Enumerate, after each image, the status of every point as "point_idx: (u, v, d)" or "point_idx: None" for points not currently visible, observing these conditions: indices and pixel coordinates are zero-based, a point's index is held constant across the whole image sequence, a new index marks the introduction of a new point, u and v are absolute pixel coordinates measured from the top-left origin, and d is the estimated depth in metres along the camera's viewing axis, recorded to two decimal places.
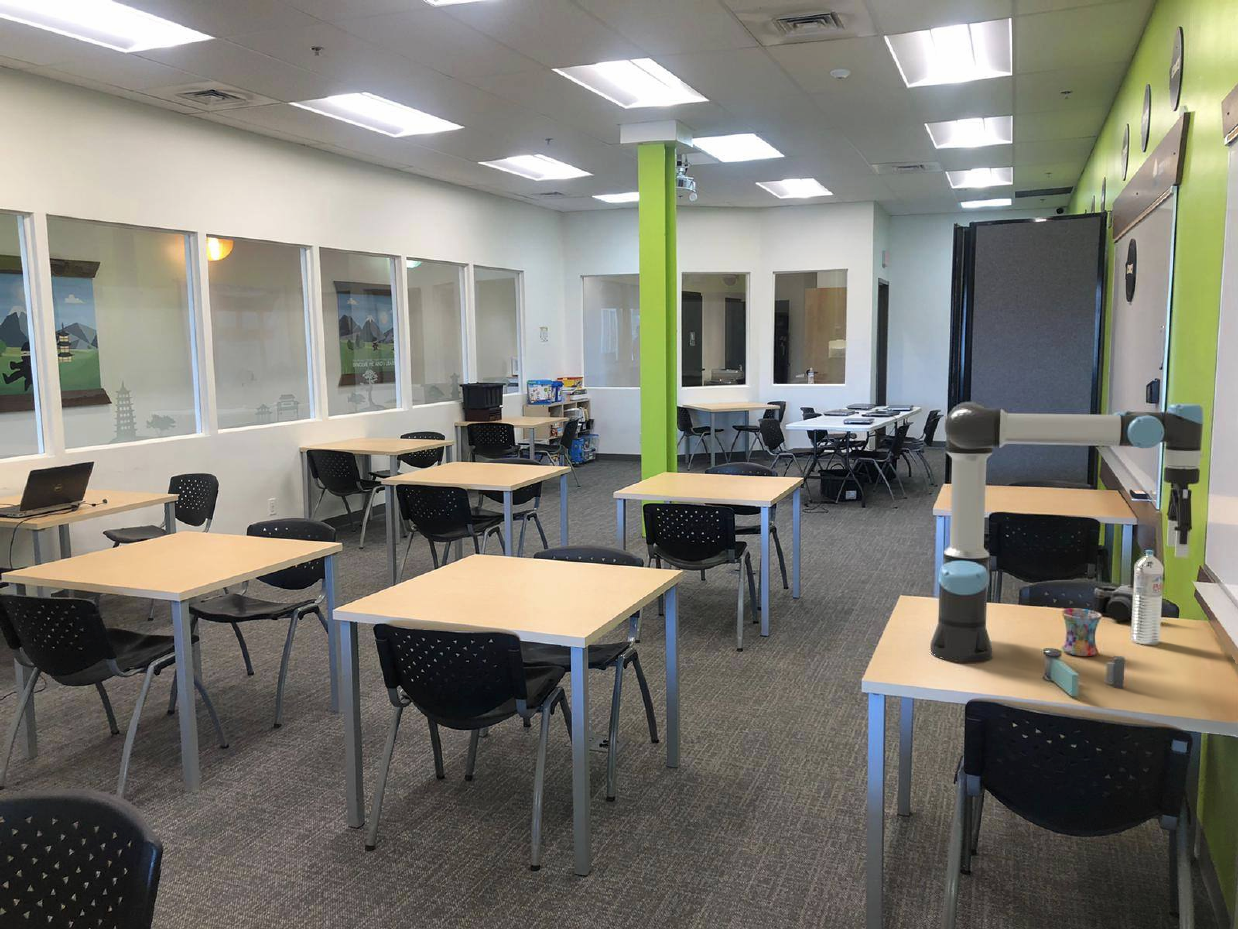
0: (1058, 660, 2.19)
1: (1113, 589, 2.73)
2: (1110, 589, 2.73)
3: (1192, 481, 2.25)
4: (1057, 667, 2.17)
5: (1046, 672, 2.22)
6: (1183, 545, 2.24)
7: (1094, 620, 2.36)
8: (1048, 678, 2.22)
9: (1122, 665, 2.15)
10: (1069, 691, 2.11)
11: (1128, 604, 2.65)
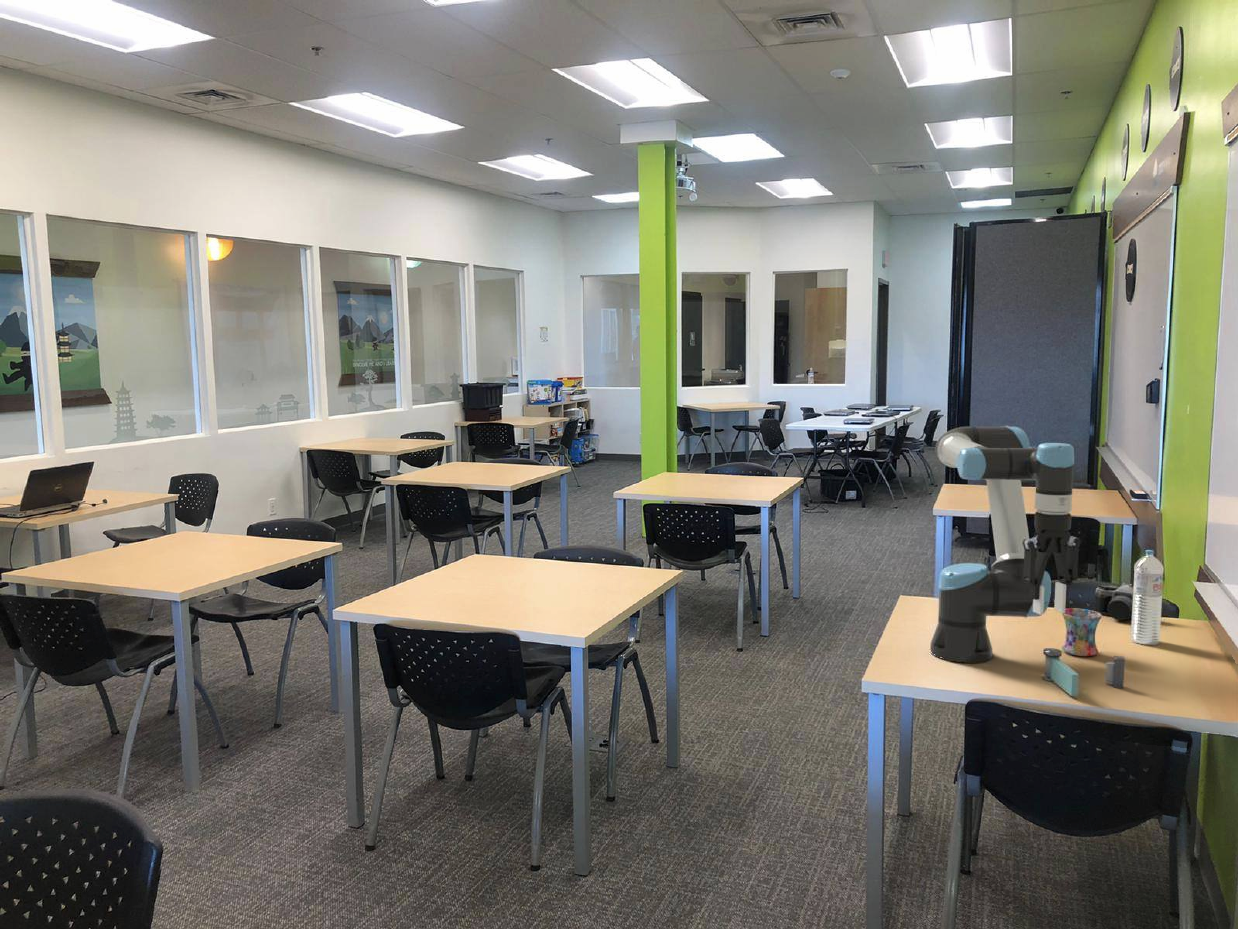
0: (1058, 660, 2.19)
1: (1114, 588, 2.73)
2: (1111, 588, 2.74)
3: (1045, 527, 2.08)
4: (1057, 667, 2.17)
5: (1046, 672, 2.22)
6: (1037, 600, 2.11)
7: (1094, 620, 2.36)
8: (1048, 678, 2.22)
9: (1122, 665, 2.15)
10: (1069, 691, 2.11)
11: (1129, 603, 2.66)
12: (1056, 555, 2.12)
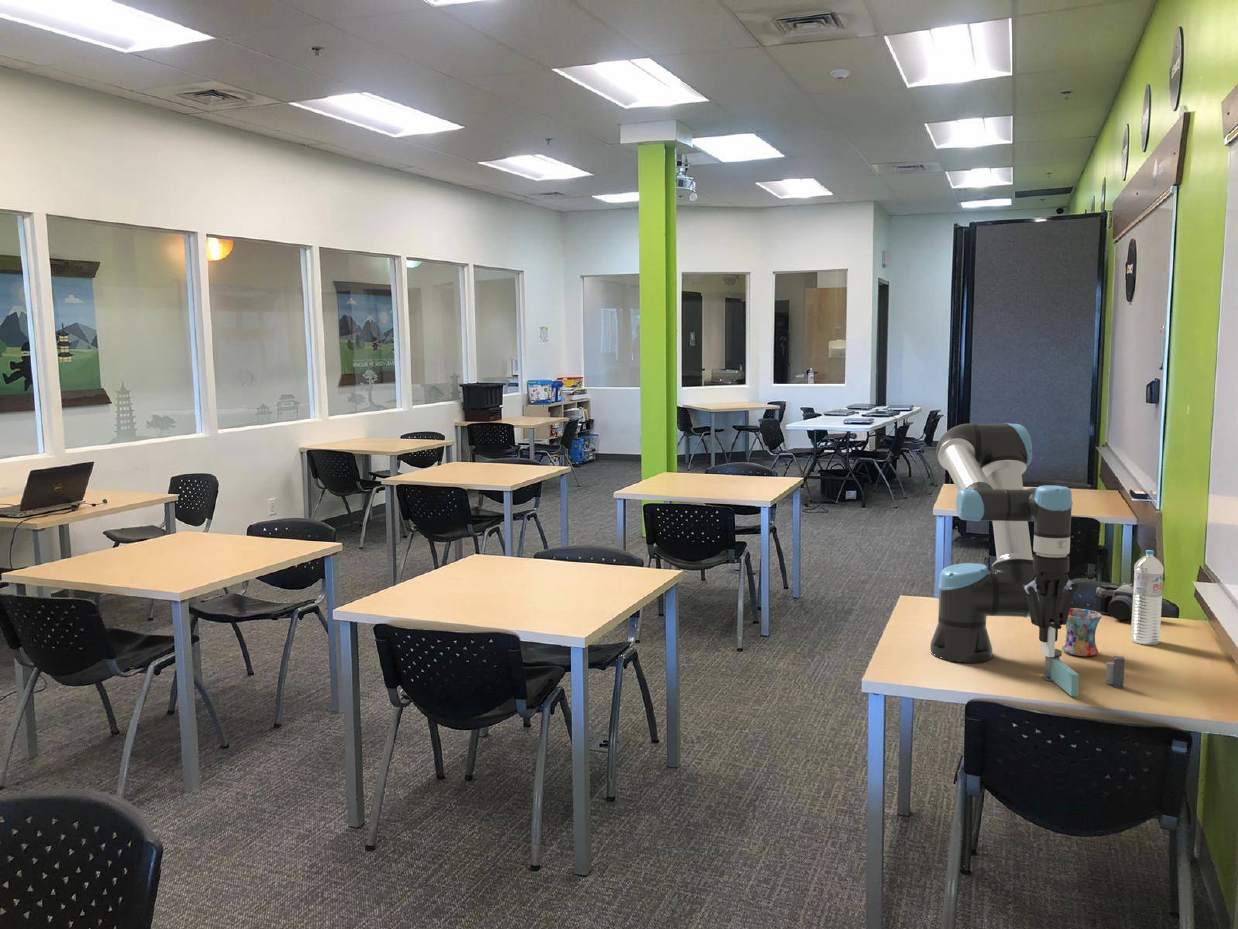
0: (1058, 660, 2.19)
1: (1115, 588, 2.74)
2: (1112, 588, 2.74)
3: (1043, 570, 2.09)
4: (1057, 667, 2.17)
5: (1046, 672, 2.22)
6: (1045, 643, 2.13)
7: (1094, 620, 2.36)
8: (1048, 678, 2.22)
9: (1122, 665, 2.15)
10: (1069, 691, 2.11)
11: (1129, 603, 2.66)
12: None
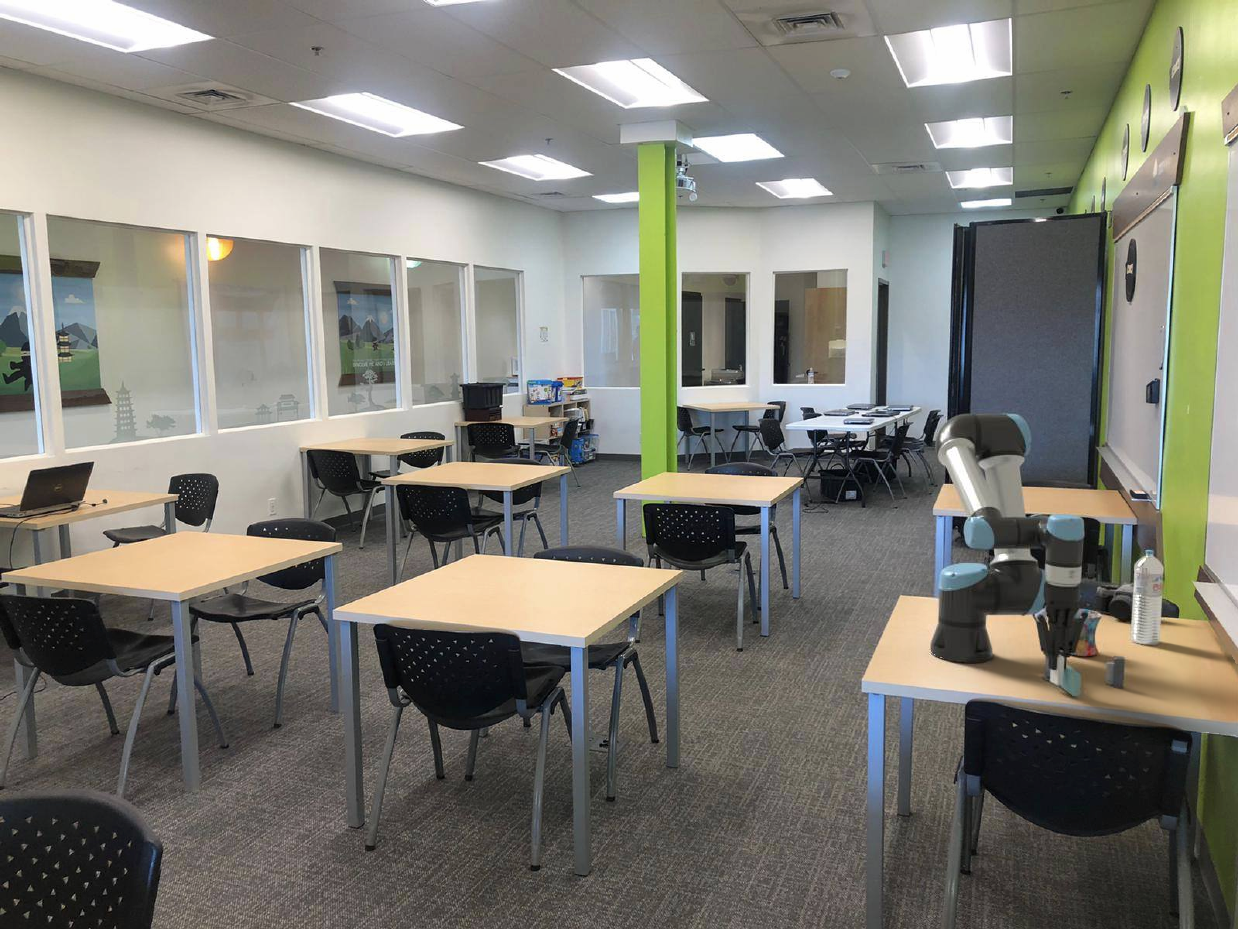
0: None
1: (1116, 588, 2.74)
2: (1113, 588, 2.75)
3: (1054, 599, 2.09)
4: None
5: (1046, 672, 2.22)
6: (1055, 671, 2.13)
7: (1094, 620, 2.36)
8: (1048, 678, 2.22)
9: (1122, 665, 2.15)
10: (1071, 692, 2.11)
11: (1130, 602, 2.67)
12: None
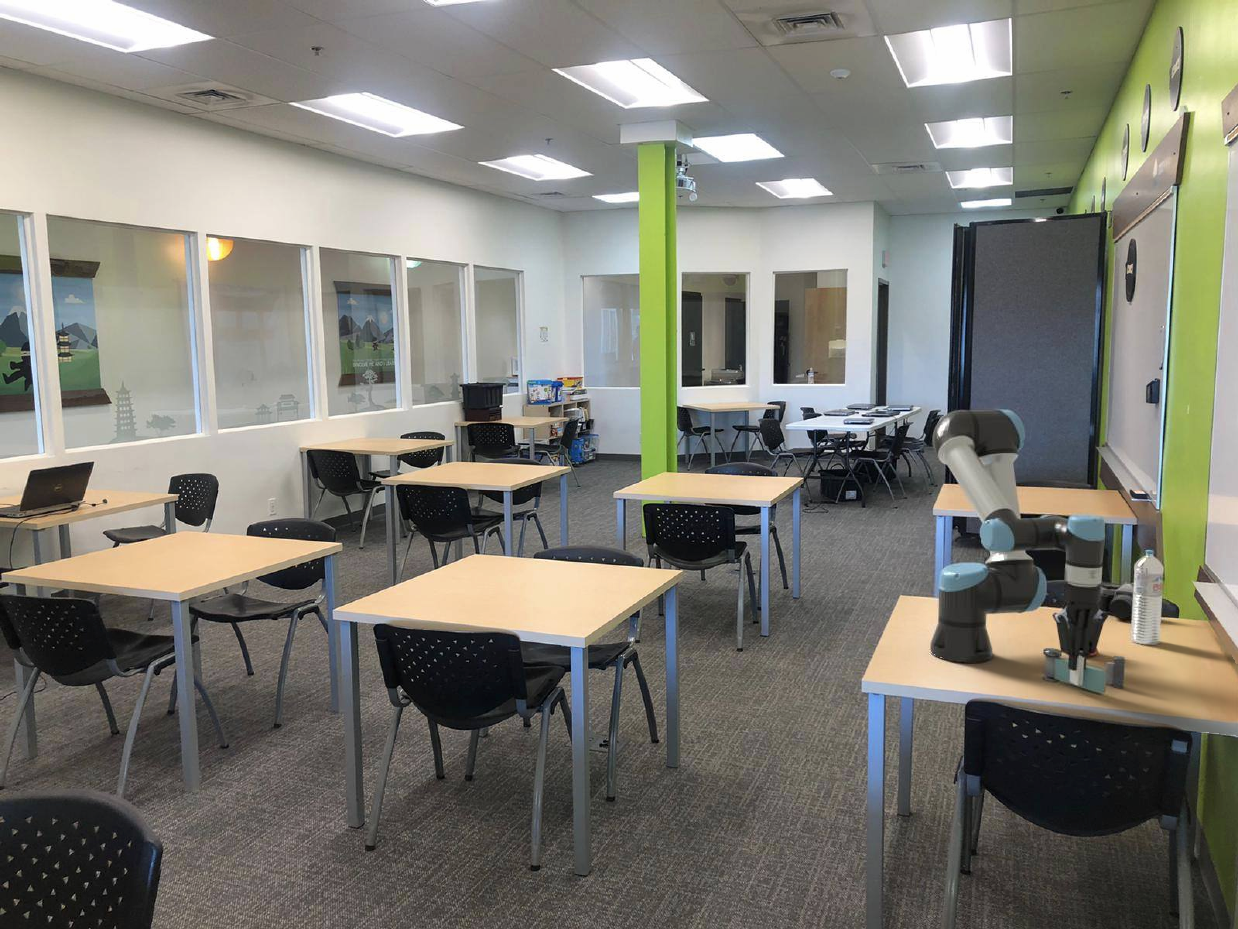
0: (1064, 659, 2.19)
1: (1116, 587, 2.75)
2: (1113, 587, 2.75)
3: (1074, 599, 2.09)
4: None
5: (1049, 673, 2.21)
6: (1074, 671, 2.13)
7: None
8: (1048, 678, 2.22)
9: (1122, 665, 2.15)
10: (1097, 689, 2.12)
11: (1130, 602, 2.67)
12: None
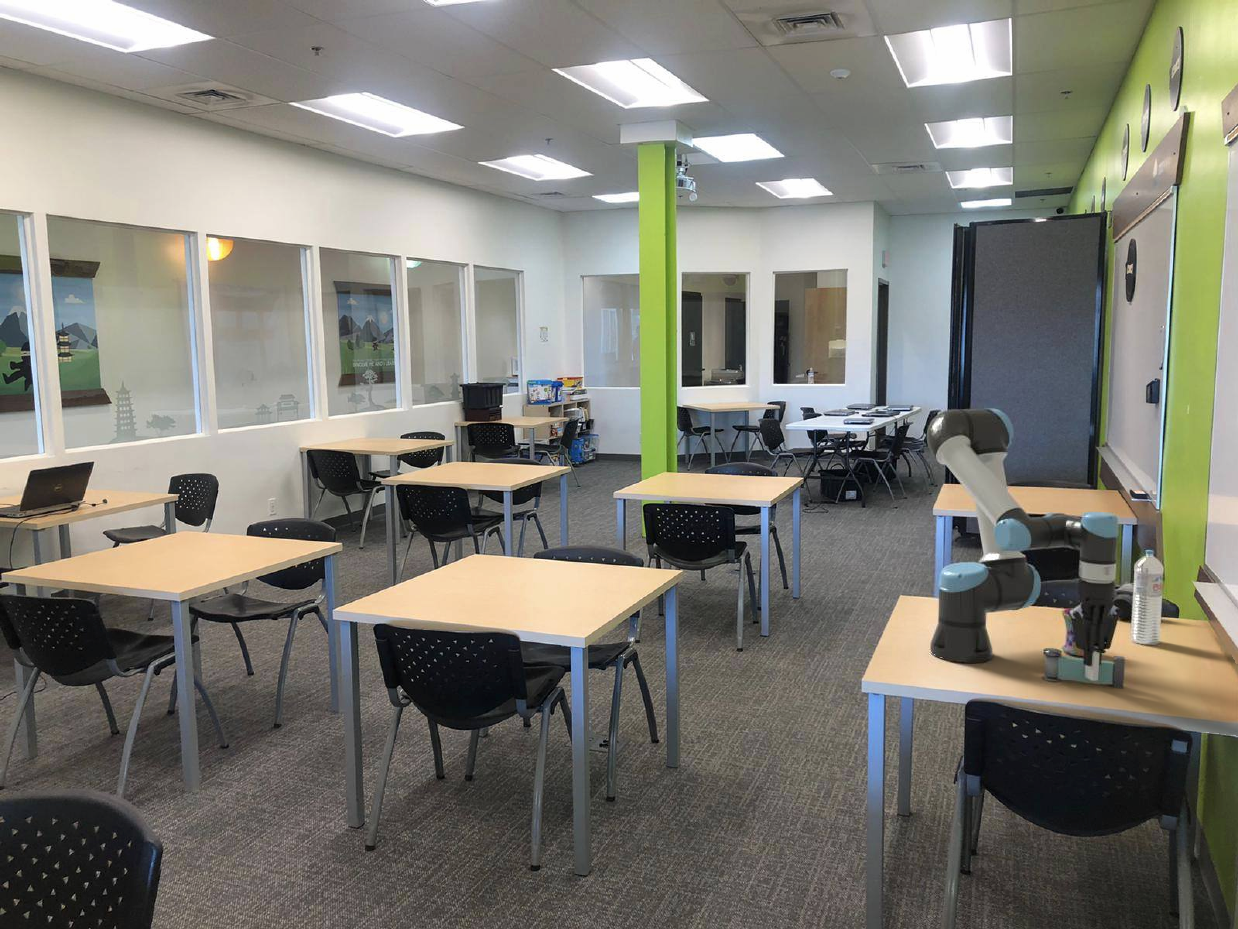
0: (1066, 657, 2.21)
1: (1117, 587, 2.75)
2: None
3: (1089, 595, 2.12)
4: (1075, 664, 2.19)
5: (1054, 673, 2.21)
6: (1090, 667, 2.16)
7: None
8: (1048, 678, 2.22)
9: (1122, 665, 2.15)
10: (1107, 681, 2.17)
11: (1131, 601, 2.67)
12: None
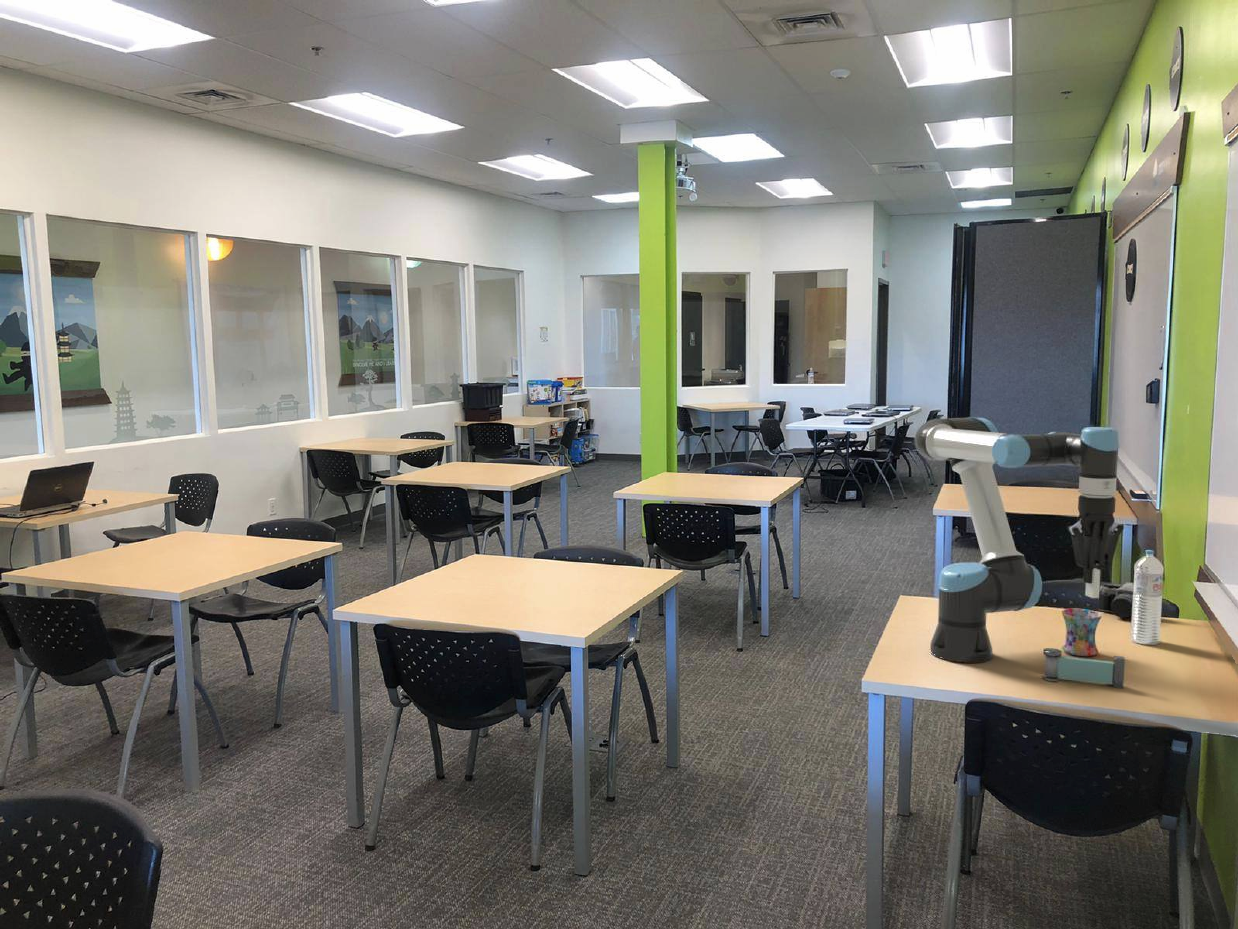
0: (1066, 657, 2.21)
1: (1118, 586, 2.76)
2: (1115, 586, 2.76)
3: (1089, 511, 2.09)
4: (1075, 664, 2.19)
5: (1054, 673, 2.21)
6: (1090, 584, 2.13)
7: (1094, 620, 2.36)
8: (1048, 678, 2.22)
9: (1122, 665, 2.15)
10: (1107, 681, 2.17)
11: None
12: (1096, 539, 2.13)
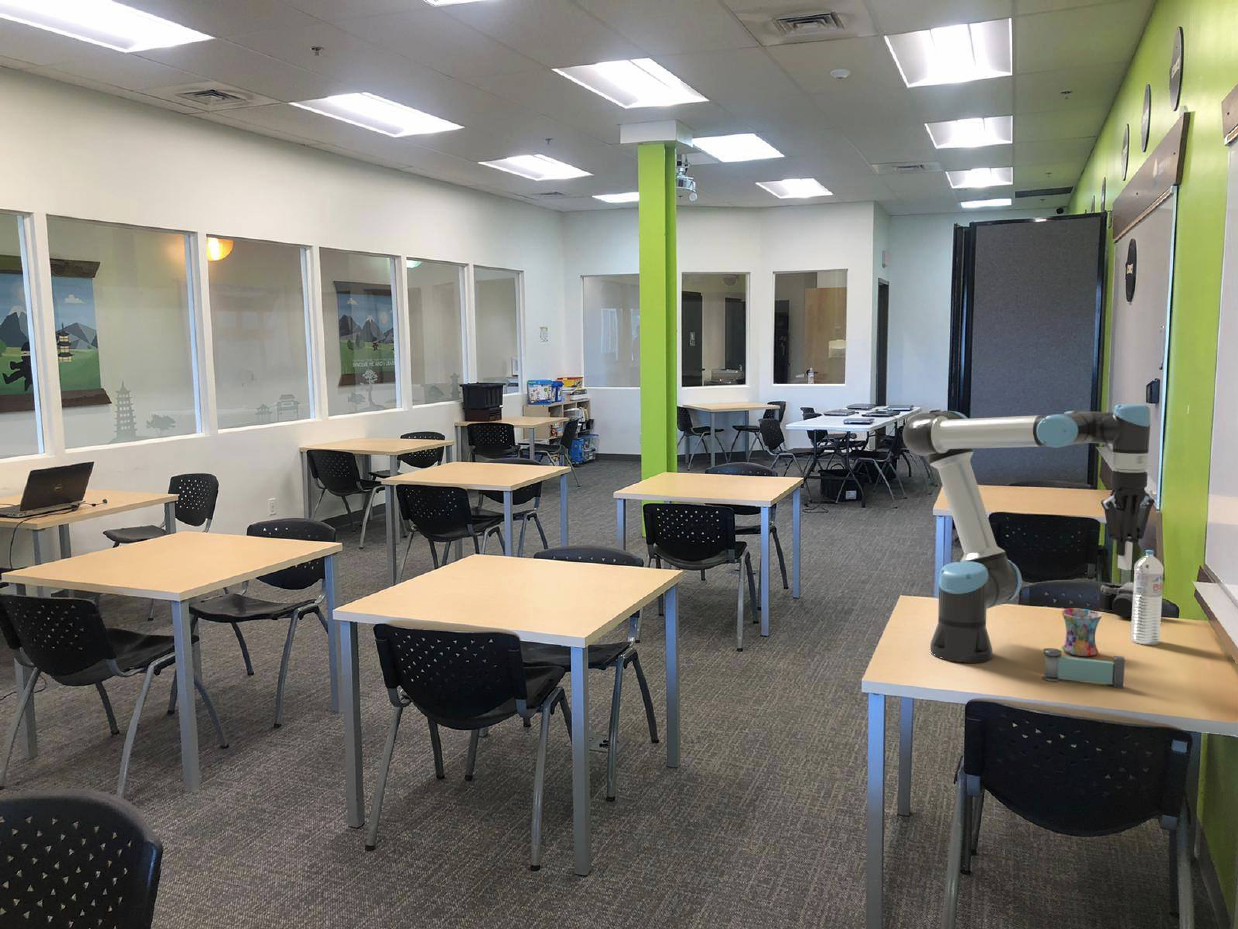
0: (1066, 657, 2.21)
1: (1119, 586, 2.76)
2: (1116, 586, 2.77)
3: (1122, 485, 2.16)
4: (1075, 664, 2.19)
5: (1054, 673, 2.21)
6: (1122, 557, 2.20)
7: (1094, 620, 2.36)
8: (1048, 678, 2.22)
9: (1122, 665, 2.15)
10: (1107, 681, 2.17)
11: None
12: None
